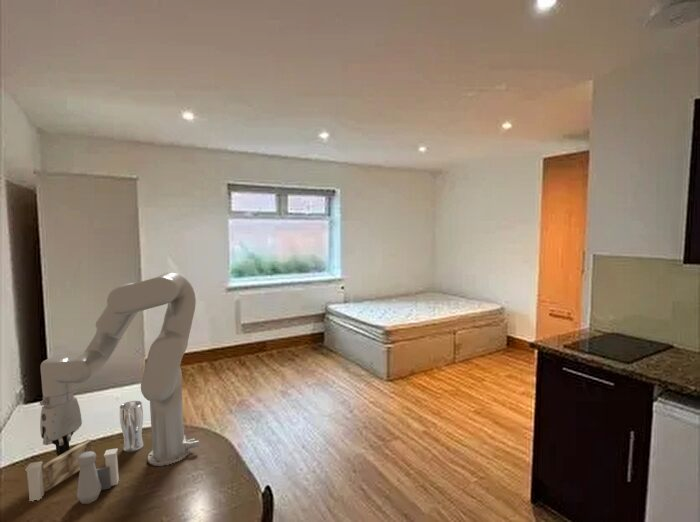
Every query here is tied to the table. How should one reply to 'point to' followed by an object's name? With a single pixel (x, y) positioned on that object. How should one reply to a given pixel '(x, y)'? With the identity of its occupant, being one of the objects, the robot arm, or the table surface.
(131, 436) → the beer glass
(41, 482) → the gate posts
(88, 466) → the salt shaker
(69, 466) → the gate
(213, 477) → the table surface
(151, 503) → the table surface
